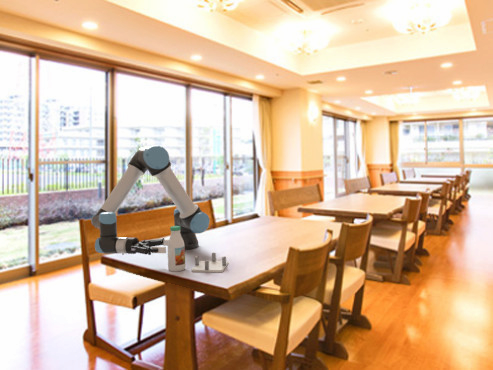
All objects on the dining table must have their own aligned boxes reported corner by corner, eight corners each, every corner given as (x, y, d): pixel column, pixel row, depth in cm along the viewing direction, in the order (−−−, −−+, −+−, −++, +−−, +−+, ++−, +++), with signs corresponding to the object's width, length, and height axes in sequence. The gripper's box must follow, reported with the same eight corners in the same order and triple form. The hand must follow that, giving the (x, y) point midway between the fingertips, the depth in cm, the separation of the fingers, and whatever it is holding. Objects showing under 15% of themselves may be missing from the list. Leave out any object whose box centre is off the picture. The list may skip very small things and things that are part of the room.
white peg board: (199, 262, 172) (199, 252, 172) (229, 262, 170) (229, 252, 169) (190, 271, 157) (190, 261, 157) (222, 272, 155) (222, 261, 155)
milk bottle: (169, 272, 157) (167, 228, 156) (167, 267, 165) (166, 225, 163) (186, 270, 159) (184, 227, 158) (184, 266, 167) (182, 224, 165)
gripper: (140, 246, 177) (180, 247, 174) (114, 261, 152) (160, 262, 149) (140, 232, 176) (180, 232, 173) (113, 244, 152) (160, 244, 148)
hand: (171, 246), depth 161 cm, fingers open, 13 cm apart
